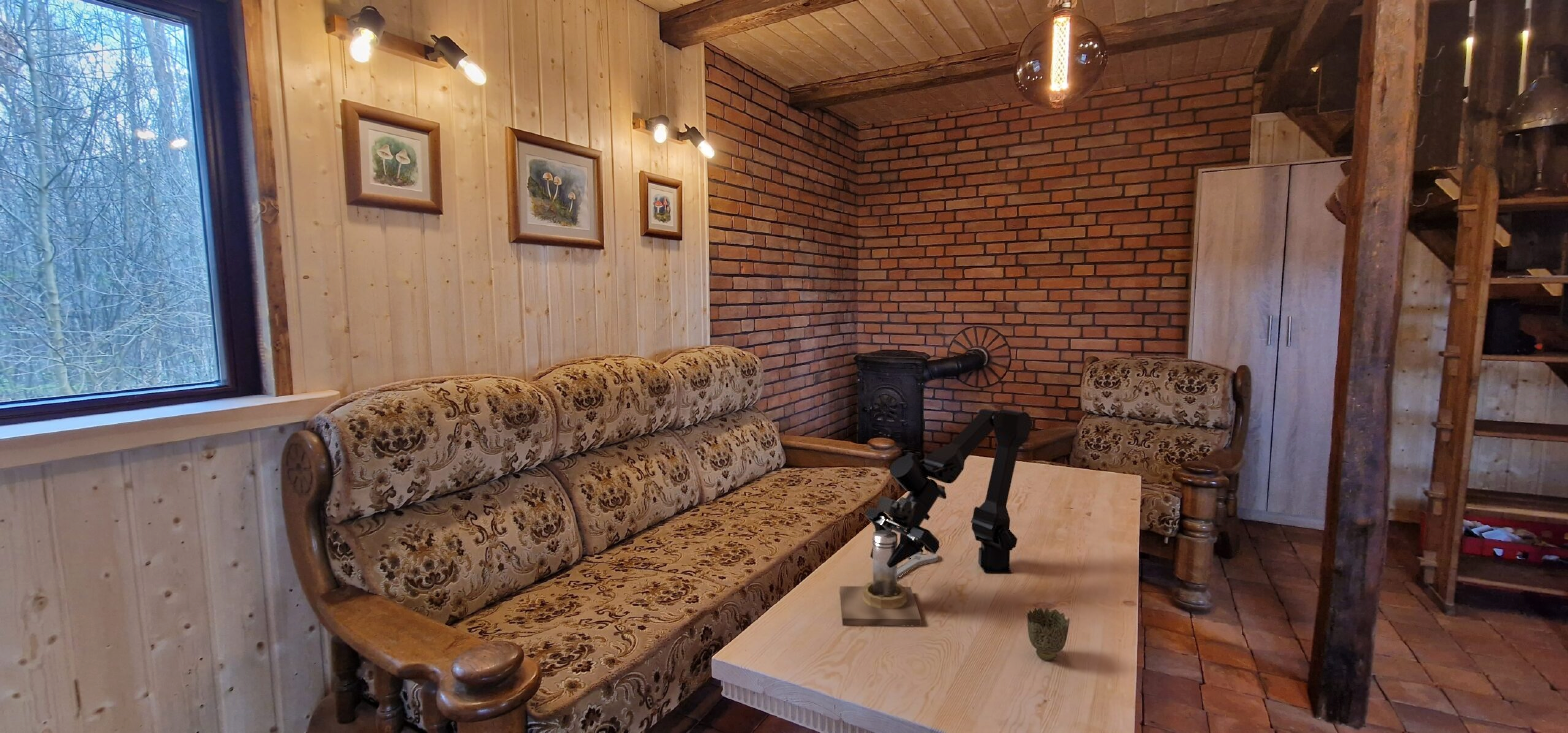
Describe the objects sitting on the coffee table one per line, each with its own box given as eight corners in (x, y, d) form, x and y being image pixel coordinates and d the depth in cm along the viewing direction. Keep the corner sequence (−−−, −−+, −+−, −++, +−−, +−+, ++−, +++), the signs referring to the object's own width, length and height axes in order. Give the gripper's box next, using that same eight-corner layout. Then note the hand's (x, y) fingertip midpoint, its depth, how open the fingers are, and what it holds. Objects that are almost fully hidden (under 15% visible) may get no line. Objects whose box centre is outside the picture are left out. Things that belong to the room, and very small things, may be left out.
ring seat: (910, 593, 153) (910, 578, 152) (921, 626, 138) (921, 609, 138) (839, 592, 154) (839, 577, 153) (842, 625, 139) (842, 609, 138)
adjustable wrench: (879, 592, 155) (879, 584, 155) (858, 583, 159) (858, 576, 159) (941, 560, 172) (942, 553, 172) (920, 553, 176) (921, 546, 176)
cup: (1018, 647, 129) (1019, 607, 129) (1055, 645, 130) (1057, 606, 129) (1036, 669, 122) (1037, 627, 121) (1075, 667, 123) (1077, 625, 122)
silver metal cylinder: (900, 587, 148) (900, 532, 146) (892, 597, 143) (893, 540, 142) (877, 582, 150) (877, 528, 149) (868, 592, 146) (868, 536, 144)
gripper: (871, 472, 154) (832, 529, 149) (930, 493, 138) (889, 557, 134) (897, 500, 159) (860, 555, 155) (956, 522, 143) (918, 585, 139)
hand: (880, 562), depth 145 cm, fingers closed on silver metal cylinder, 5 cm apart
